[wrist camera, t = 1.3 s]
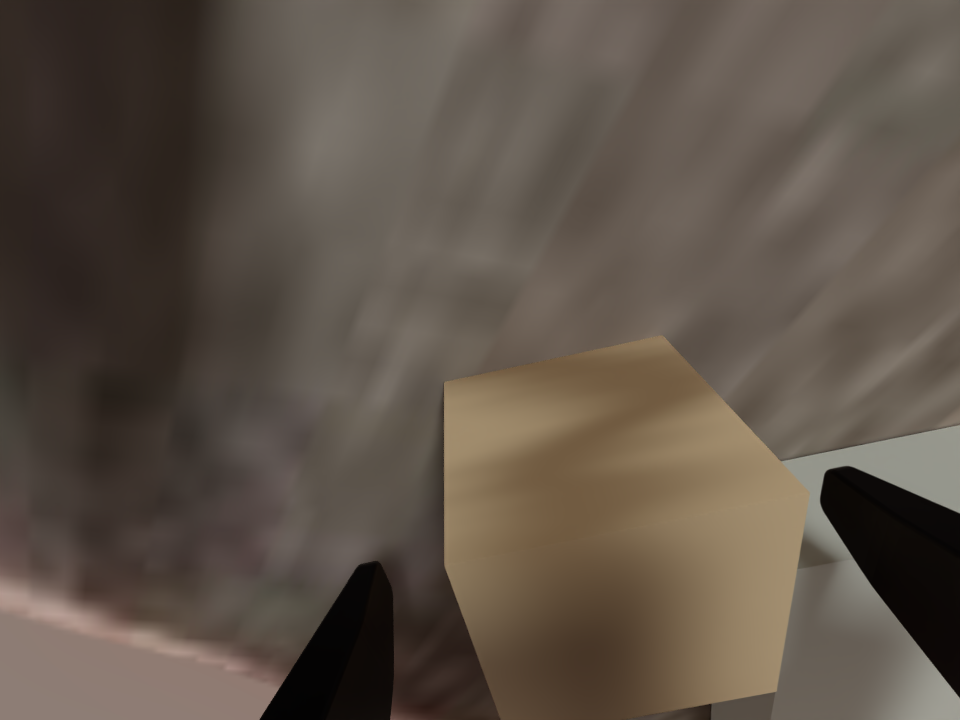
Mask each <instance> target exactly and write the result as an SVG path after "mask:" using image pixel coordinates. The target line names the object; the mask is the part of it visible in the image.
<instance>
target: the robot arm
mask: <svg viewBox="0 0 960 720" xmlns="http://www.w3.org/2000/svg"><path fill="white" fill-rule="evenodd" d="M820 505H821V508H822V510H823V512H824V514H825V515H826V517H827V518H828V520H829V521H830V523H831V524H832V526H833V528H834V529H835V531H836V532H837V534H838V535H839V537H840V538H841V540H842V542H843V543H844V545H845V546H846V548H847V549H848V551H849V552H850V554H851V556H852V557H853V559H854V560H855V562H856V563H857V565H858V566H859V568H860V570H861V571H862V573H863V574H864V576H865V577H866V578H867V580H868V581H869V583H870V584H871V586H872V587H873V588H874V590H875V591H876V592H877V594H878V595H879V596H880V598H881V599H882V600H883V601H884V603H885V604H886V605H887V606H888V608H889V609H890V610H891V612H892V613H893V614H894V615H895V617H896V618H897V619H898V620H899V622H900V623H901V624H902V626H903V627H904V628H905V629H906V631H907V632H908V633H909V634H910V636H911V637H912V638H913V640H914V641H915V642H916V643H917V645H918V646H919V647H920V648H921V650H922V651H923V652H924V654H925V655H926V656H927V657H928V659H929V660H930V661H931V662H932V664H933V665H934V666H935V668H936V669H937V670H938V671H939V673H940V674H941V675H942V676H943V678H944V679H945V680H946V682H947V683H948V684H949V685H950V687H951V688H952V689H953V690H954V692H955V693H956V694H957V696H958V697H959V698H960V513H958V512H956V511H954V510H951V509H949V508H947V507H944V506H942V505H940V504H937V503H935V502H933V501H931V500H928V499H926V498H924V497H921V496H919V495H917V494H914V493H912V492H910V491H908V490H905V489H903V488H901V487H898V486H896V485H894V484H891V483H889V482H887V481H885V480H882V479H880V478H878V477H875V476H873V475H871V474H868V473H866V472H864V471H862V470H859V469H857V468H854V467H851V466H842V467H837V468H832V469H828V470H827V471H826V472H825V474H824V478H823V483H822V489H821V494H820ZM393 680H394V636H393V592H392V587H391V585H390V582H389V580H388V578H387V576H386V574H385V572H384V569H383V567H382V565H381V564H380V563H379V562H378V561H373V562H368V563H363V564H360V565H359V566H358V567H357V568H356V569H355V571H354V572H353V574H352V576H351V577H350V579H349V580H348V582H347V583H346V585H345V587H344V588H343V590H342V591H341V593H340V594H339V596H338V597H337V599H336V601H335V602H334V604H333V605H332V607H331V608H330V610H329V612H328V613H327V615H326V616H325V618H324V619H323V621H322V623H321V624H320V626H319V627H318V629H317V630H316V632H315V633H314V635H313V637H312V638H311V640H310V641H309V643H308V644H307V646H306V648H305V649H304V651H303V652H302V654H301V655H300V657H299V659H298V660H297V662H296V663H295V665H294V666H293V668H292V669H291V671H290V673H289V674H288V676H287V677H286V679H285V680H284V682H283V684H282V685H281V687H280V688H279V690H278V691H277V693H276V695H275V696H274V698H273V699H272V701H271V703H270V704H269V705H268V707H267V709H266V710H265V712H264V713H263V715H262V717H261V718H260V720H390V716H391V705H392V694H393Z"/></svg>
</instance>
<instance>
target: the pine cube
mask: <svg viewBox="0 0 960 720" xmlns="http://www.w3.org/2000/svg"><path fill="white" fill-rule="evenodd" d="M809 496H810V492H809V491H808V490H807V489H806V488H805V487H804V486H803V485H802V484H801V483H800V482H799V481H798V479H797V478H796V477H795V476H794V475H793V474H792V473H791V472H790V471H789V470H788V469H787V468H786V467H785V466H784V465H783V463H782V462H781V461H780V460H779V459H778V458H777V457H776V456H775V455H774V454H773V453H772V452H771V451H770V450H769V449H768V447H767V446H766V445H765V444H764V443H763V442H762V441H761V440H760V439H759V438H758V437H757V436H756V435H755V434H754V433H753V431H752V430H751V429H750V428H749V427H748V426H747V425H746V424H745V423H744V422H743V421H742V420H741V419H740V418H739V417H738V415H737V414H736V413H735V412H734V411H733V410H732V409H731V408H730V407H729V406H728V405H727V404H726V403H725V402H724V401H723V399H722V398H721V397H720V396H719V395H718V394H717V393H716V392H715V391H714V390H713V389H712V388H711V387H710V386H709V385H708V384H707V382H706V381H705V380H704V379H703V378H702V377H701V376H700V375H699V374H698V373H697V372H696V371H695V370H694V369H693V368H692V366H691V365H690V364H689V363H688V362H687V361H686V360H685V359H684V358H683V357H682V356H681V355H680V354H679V353H678V352H677V350H676V349H675V348H674V347H673V346H672V345H671V344H670V343H669V342H668V341H667V340H666V339H665V338H664V337H663V336H657V337H653V338H648V339H643V340H639V341H634V342H629V343H625V344H620V345H615V346H611V347H606V348H601V349H596V350H592V351H587V352H582V353H578V354H573V355H568V356H564V357H559V358H554V359H550V360H545V361H540V362H536V363H531V364H526V365H522V366H517V367H512V368H508V369H503V370H498V371H494V372H489V373H484V374H480V375H475V376H470V377H466V378H461V379H456V380H452V381H447V382H444V566H445V569H446V571H447V574H448V577H449V580H450V582H451V585H452V588H453V591H454V593H455V596H456V599H457V602H458V604H459V607H460V610H461V613H462V615H463V618H464V621H465V624H466V626H467V629H468V632H469V635H470V637H471V640H472V643H473V646H474V648H475V651H476V654H477V657H478V659H479V662H480V665H481V668H482V670H483V673H484V676H485V679H486V681H487V684H488V687H489V690H490V692H491V695H492V698H493V701H494V703H495V706H496V709H497V712H498V714H499V717H500V720H625V719H630V718H635V717H641V716H646V715H652V714H657V713H663V712H668V711H674V710H679V709H685V708H690V707H696V706H701V705H707V704H712V703H717V702H723V701H728V700H734V699H739V698H745V697H750V696H756V695H761V694H767V693H772V692H777V686H778V680H779V674H780V668H781V662H782V656H783V650H784V644H785V638H786V632H787V626H788V620H789V615H790V609H791V603H792V597H793V591H794V585H795V579H796V573H797V567H798V561H799V555H800V549H801V544H802V538H803V532H804V526H805V520H806V514H807V508H808V502H809Z"/></svg>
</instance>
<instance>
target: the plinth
mask: <svg viewBox="0 0 960 720" xmlns="http://www.w3.org/2000/svg"><path fill="white" fill-rule="evenodd" d="M781 462H782V463H783V465H784V466H785V467H786V468H787V469H788V470H789V471H790V472H791V473H792V474H793V475H794V476H795V477H796V478H797V479H798V481H799V482H800V483H801V484H802V485H803V486H804V487H805V488H806V489H807V490H808V491H809V492H810V496H809V502H808V508H807V514H806V520H805V526H804V532H803V538H802V544H801V549H800V555H799V561H798V567H797V573H796V579H795V585H794V591H793V597H792V603H791V609H790V615H789V620H788V626H787V632H786V638H785V644H784V650H783V656H782V662H781V668H780V674H779V680H778V686H777V692H772V693H767V694H761V695H756V696H750V697H745V698H739V699H734V700H728V701H723V702H717V703H712V707H711V720H960V698H959V697H958V696H957V694H956V693H955V692H954V690H953V689H952V688H951V687H950V685H949V684H948V683H947V682H946V680H945V679H944V678H943V676H942V675H941V674H940V673H939V671H938V670H937V669H936V668H935V666H934V665H933V664H932V662H931V661H930V660H929V659H928V657H927V656H926V655H925V654H924V652H923V651H922V650H921V648H920V647H919V646H918V645H917V643H916V642H915V641H914V640H913V638H912V637H911V636H910V634H909V633H908V632H907V631H906V629H905V628H904V627H903V626H902V624H901V623H900V622H899V620H898V619H897V618H896V617H895V615H894V614H893V613H892V612H891V610H890V609H889V608H888V606H887V605H886V604H885V603H884V601H883V600H882V599H881V598H880V596H879V595H878V594H877V592H876V591H875V590H874V588H873V587H872V586H871V584H870V583H869V581H868V580H867V578H866V577H865V576H864V574H863V573H862V571H861V570H860V568H859V566H858V565H857V563H856V562H855V560H854V559H853V557H852V556H851V554H850V552H849V551H848V549H847V548H846V546H845V545H844V543H843V542H842V540H841V538H840V537H839V535H838V534H837V532H836V531H835V529H834V528H833V526H832V524H831V523H830V521H829V520H828V518H827V517H826V515H825V514H824V512H823V510H822V508H821V505H820V494H821V489H822V483H823V478H824V474H825V472H826V471H827V470H828V469H832V468H837V467H842V466H851V467H854V468H857V469H859V470H862V471H864V472H866V473H868V474H871V475H873V476H875V477H878V478H880V479H882V480H885V481H887V482H889V483H891V484H894V485H896V486H898V487H901V488H903V489H905V490H908V491H910V492H912V493H914V494H917V495H919V496H921V497H924V498H926V499H928V500H931V501H933V502H935V503H937V504H940V505H942V506H944V507H947V508H949V509H951V510H954V511H956V512H958V513H960V425H958V426H953V427H948V428H943V429H938V430H933V431H928V432H923V433H918V434H913V435H909V436H904V437H899V438H894V439H889V440H884V441H879V442H874V443H869V444H864V445H859V446H854V447H849V448H845V449H840V450H835V451H830V452H825V453H820V454H815V455H810V456H805V457H800V458H795V459H790V460H785V461H781Z"/></svg>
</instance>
